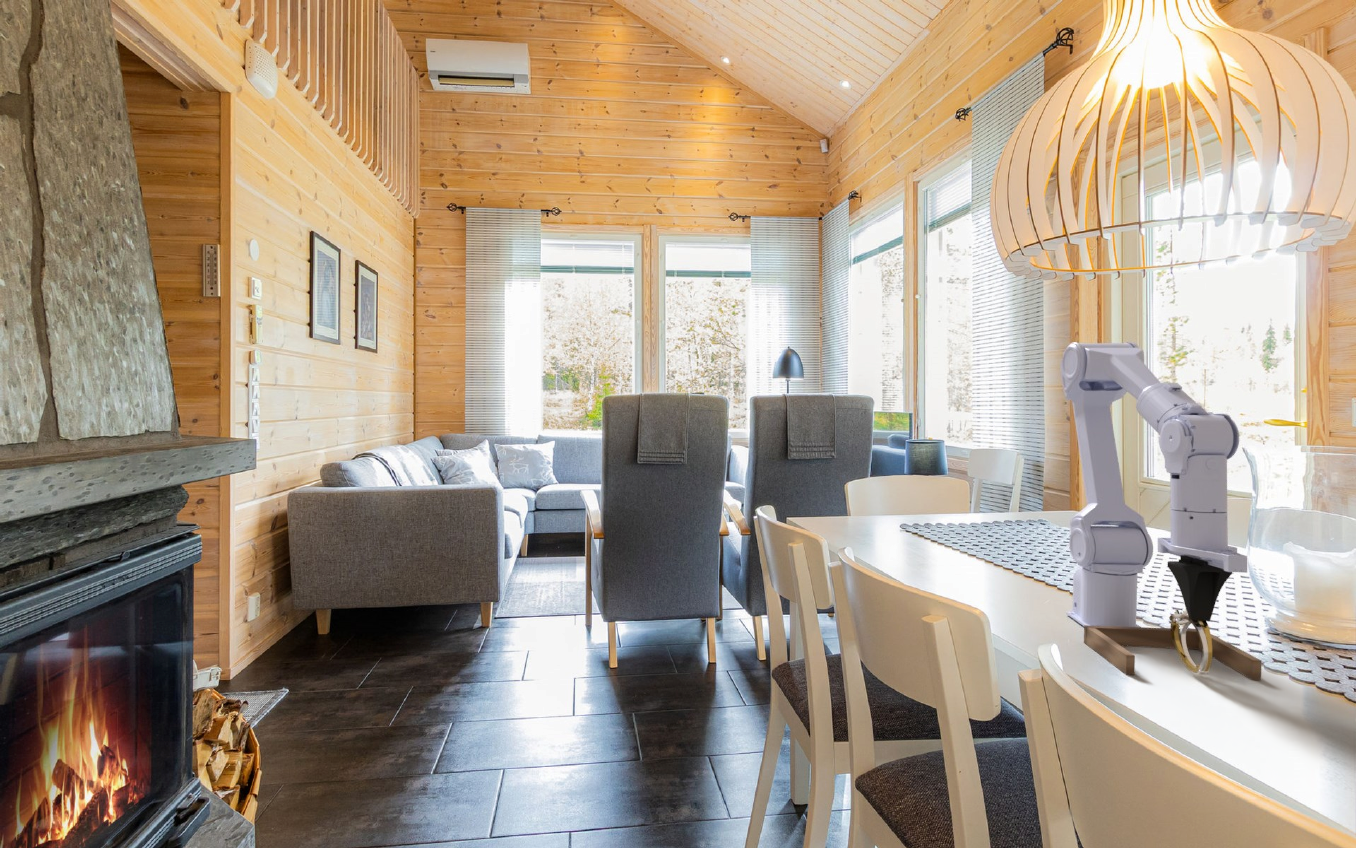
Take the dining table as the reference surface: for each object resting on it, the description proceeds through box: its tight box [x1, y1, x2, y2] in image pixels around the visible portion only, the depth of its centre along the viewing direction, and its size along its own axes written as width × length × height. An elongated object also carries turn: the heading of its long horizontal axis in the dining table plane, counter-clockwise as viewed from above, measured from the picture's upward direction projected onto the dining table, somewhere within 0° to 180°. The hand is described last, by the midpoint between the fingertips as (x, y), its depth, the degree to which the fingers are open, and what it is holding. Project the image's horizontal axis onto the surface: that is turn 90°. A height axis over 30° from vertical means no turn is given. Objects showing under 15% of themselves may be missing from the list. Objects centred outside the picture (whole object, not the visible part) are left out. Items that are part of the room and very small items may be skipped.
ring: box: [1169, 609, 1213, 676], centre depth 89 cm, size 7×3×8 cm
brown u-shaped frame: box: [1083, 625, 1262, 681], centre depth 94 cm, size 12×16×2 cm
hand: (1199, 620), depth 87 cm, fingers closed, pressing on ring
